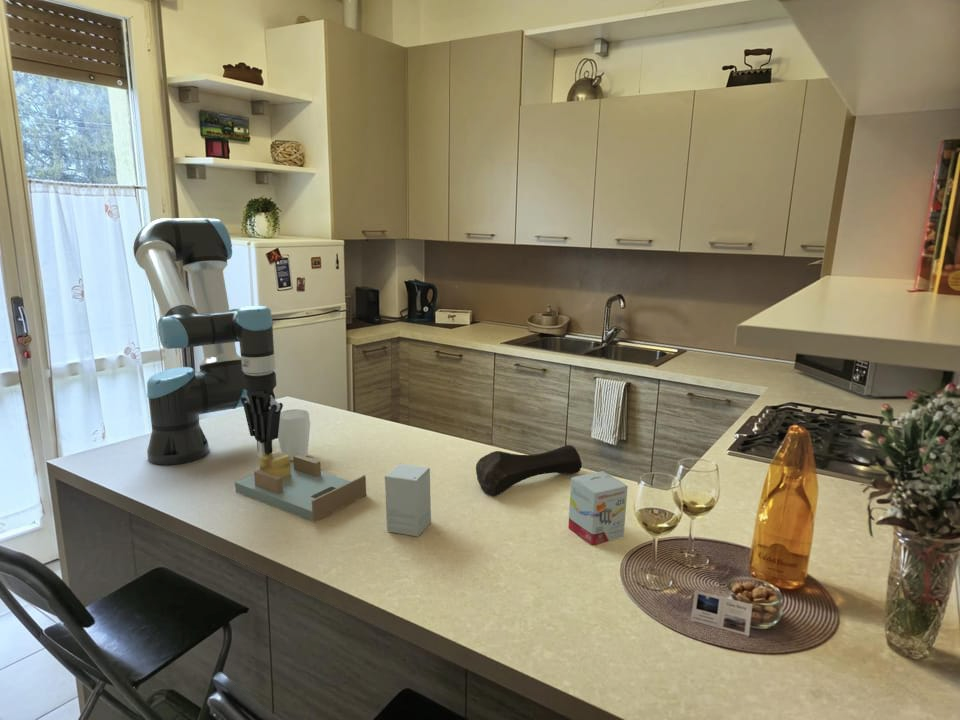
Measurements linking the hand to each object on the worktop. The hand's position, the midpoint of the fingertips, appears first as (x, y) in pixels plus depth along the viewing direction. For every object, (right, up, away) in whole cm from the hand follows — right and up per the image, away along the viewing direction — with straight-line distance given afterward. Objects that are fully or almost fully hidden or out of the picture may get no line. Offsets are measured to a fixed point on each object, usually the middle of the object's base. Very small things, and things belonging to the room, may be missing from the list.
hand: (266, 465), depth 154 cm
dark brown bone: (+64, -5, +3) cm, 64 cm away
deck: (+10, -6, -5) cm, 13 cm away
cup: (+2, -1, +17) cm, 18 cm away
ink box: (+77, -11, -22) cm, 81 cm away
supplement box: (+37, -10, -20) cm, 44 cm away
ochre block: (+3, -2, -1) cm, 4 cm away
